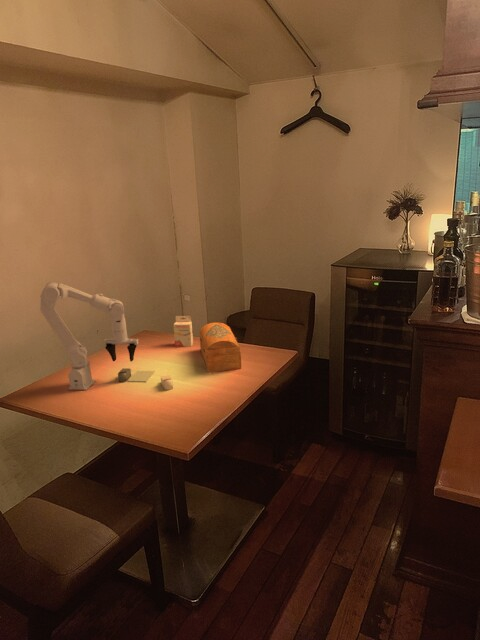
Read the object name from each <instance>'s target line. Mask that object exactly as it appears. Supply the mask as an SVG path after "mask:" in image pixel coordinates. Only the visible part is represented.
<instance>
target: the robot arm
mask: <svg viewBox="0 0 480 640" xmlns="http://www.w3.org/2000/svg"><path fill="white" fill-rule="evenodd" d="M39 298H40V313H41V314H42V316H43V317H44V318H45V320H46V321H47V323H48V325H49V326H50V327H51V329H52V330H53V332H54V333H55V334H56V336H57V337H58V339H59V340H60V341H61V343H62V345H63V346H64V347H65V350H66V352H67V354H68V356H69V358H70V371H69V372H68V382H69V387H68V388H67V389H68V390H70V391H71V390H72V391H73V390H74V391H75V390H78V391H79V390H82V391H86V390H88V389H89V388H90V387H91V386H92V385H93V384H94V383H96V382H97V379H92V377H93V376H92V371H91V362H90V361H89V359H88V353H89V352H88V350H87V348H86V347H85V346H84V345H82V344H81V343H80V342H79V341H78V340H77V339H76V338H75V336H74V334H73V333H72V332H71V330H70V329H69V327H68V326H67V325H66V322H64V320H63V319H62V317H61V315H60V314H59V313H58V311H57V310H56V308H55V306H56V304H57V301H58V300H59V298H60V299H61V300H63V299H67V298H72V299H74V300H79V301H81V302H84V303H88V304H90V306H91V308H92V309H96V310H98V311H99V310H100V311H101V312H104V313H109V314H110V317H111V318H110V324H111V331H112V332H111V333H112V338H105V339H103V340H102V342H103V345H104V346H105V347H104V348H105V349H106V351H107V353H109V355H110V358H111V360H112V362H115V361H117V354H116V353H117V352H116V345H127V346H126V348H127V351H128V356H129V361H130V362H133V361H134V359H135V357H134V356H135V352H136V348H137V346H138V344H139V338H131V337H128V329H127V323H126V322H127V321H126V317H125V307H124V303H123V302H122V301H121V300H119V299H115V298H112V297H111V298H109V297H106V296H104V294H103V293H95V294H89V293H87V292H84V291H83V290H80V289H77V288H74V287H72V286H69V285H66V284H64V283H62V282H61V283H59V282H57V281H53V280H52V281H49V282H47V283H46V284H45V286H44V288H43V289H42V291H41V294H40V297H39Z"/></svg>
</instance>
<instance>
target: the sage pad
mask: <svg viewBox="0 0 480 640" xmlns="http://www.w3.org/2000/svg"><path fill="white" fill-rule="evenodd" d="M154 373H155V370H136V371H135V372H134V374H132V375H131V377H130V378H129V379H128V380H127V382H128V383H147V382H148V381H149V379H150V378H151V377H152V376H153V375H154Z"/></svg>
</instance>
